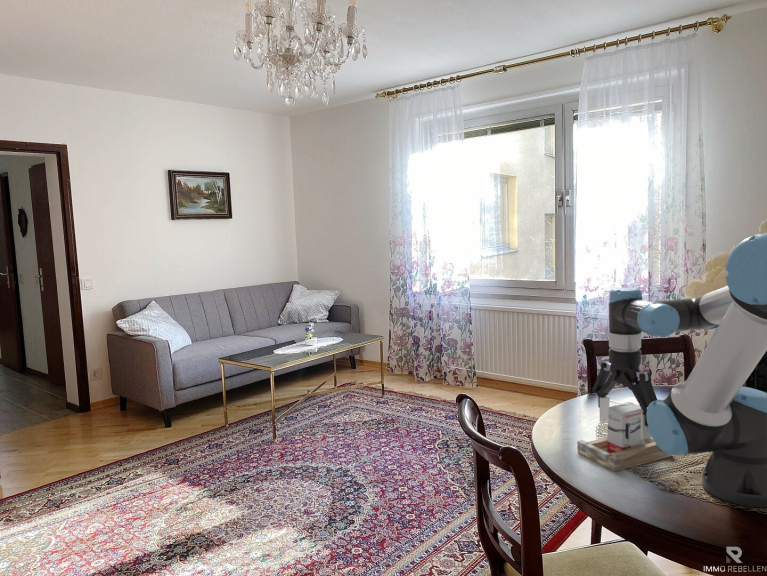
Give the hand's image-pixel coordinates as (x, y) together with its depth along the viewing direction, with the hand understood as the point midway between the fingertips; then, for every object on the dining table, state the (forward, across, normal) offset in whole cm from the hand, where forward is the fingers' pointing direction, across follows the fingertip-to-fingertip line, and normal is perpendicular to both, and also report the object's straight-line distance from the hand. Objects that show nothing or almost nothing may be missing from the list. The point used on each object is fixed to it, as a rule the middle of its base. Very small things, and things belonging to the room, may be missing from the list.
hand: (624, 429), depth 142 cm
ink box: (+6, 0, 0) cm, 6 cm away
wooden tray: (+7, 0, 0) cm, 7 cm away
